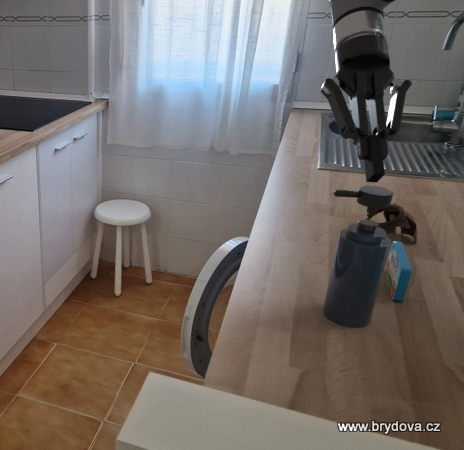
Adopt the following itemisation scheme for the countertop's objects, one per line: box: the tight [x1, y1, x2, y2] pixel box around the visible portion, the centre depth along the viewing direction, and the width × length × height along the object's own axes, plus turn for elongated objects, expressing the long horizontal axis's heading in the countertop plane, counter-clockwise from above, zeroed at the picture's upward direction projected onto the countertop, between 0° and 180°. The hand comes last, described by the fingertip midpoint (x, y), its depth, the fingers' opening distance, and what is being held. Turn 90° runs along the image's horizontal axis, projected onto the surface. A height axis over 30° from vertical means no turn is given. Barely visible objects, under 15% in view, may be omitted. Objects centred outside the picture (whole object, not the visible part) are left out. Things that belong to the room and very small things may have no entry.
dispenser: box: [322, 218, 392, 329], centre depth 84 cm, size 7×7×16 cm
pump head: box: [333, 185, 394, 213], centre depth 80 cm, size 8×4×3 cm, turn 81°
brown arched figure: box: [366, 202, 418, 245], centre depth 115 cm, size 12×10×8 cm
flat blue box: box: [384, 240, 413, 303], centre depth 95 cm, size 12×2×6 cm, turn 157°
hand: (375, 178), depth 79 cm, fingers closed
